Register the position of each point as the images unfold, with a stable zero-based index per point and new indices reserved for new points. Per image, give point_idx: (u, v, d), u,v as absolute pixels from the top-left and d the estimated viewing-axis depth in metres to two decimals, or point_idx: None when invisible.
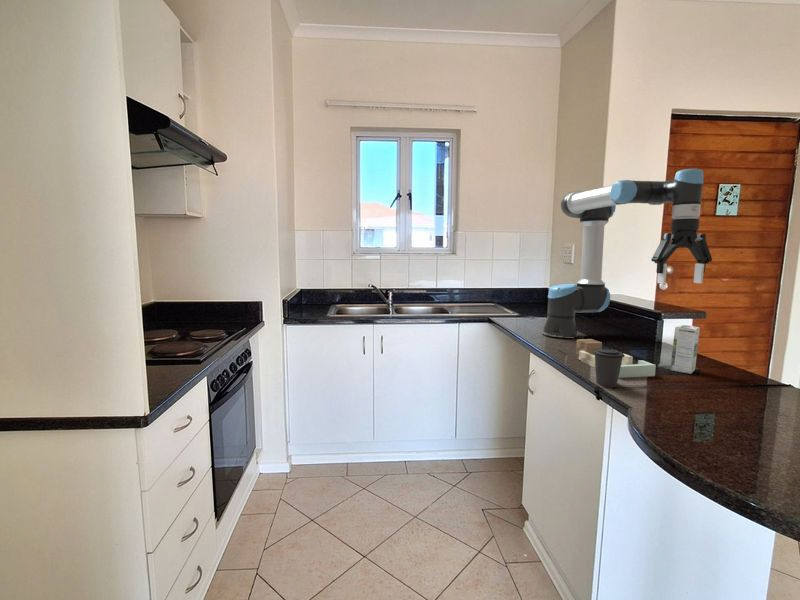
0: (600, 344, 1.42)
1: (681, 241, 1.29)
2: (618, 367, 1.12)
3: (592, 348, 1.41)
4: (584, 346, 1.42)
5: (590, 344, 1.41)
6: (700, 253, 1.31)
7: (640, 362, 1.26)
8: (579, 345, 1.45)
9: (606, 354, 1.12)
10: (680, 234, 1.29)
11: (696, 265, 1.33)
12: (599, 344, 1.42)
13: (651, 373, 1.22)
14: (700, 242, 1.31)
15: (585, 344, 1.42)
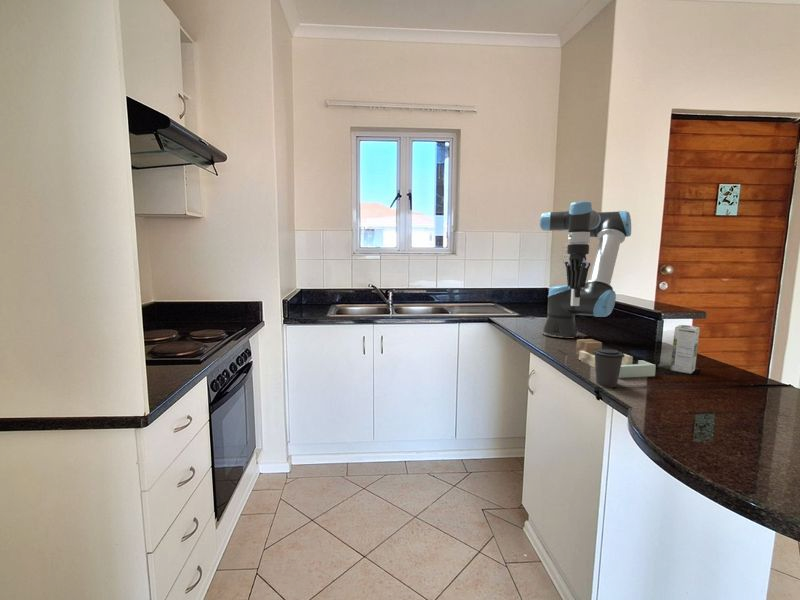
0: (600, 344, 1.42)
1: (571, 264, 1.52)
2: (618, 367, 1.12)
3: (592, 348, 1.41)
4: (584, 346, 1.42)
5: (590, 344, 1.41)
6: (575, 278, 1.50)
7: (640, 362, 1.26)
8: (579, 345, 1.45)
9: (606, 354, 1.12)
10: (570, 256, 1.53)
11: None
12: (599, 344, 1.42)
13: (651, 373, 1.22)
14: None
15: (585, 344, 1.42)
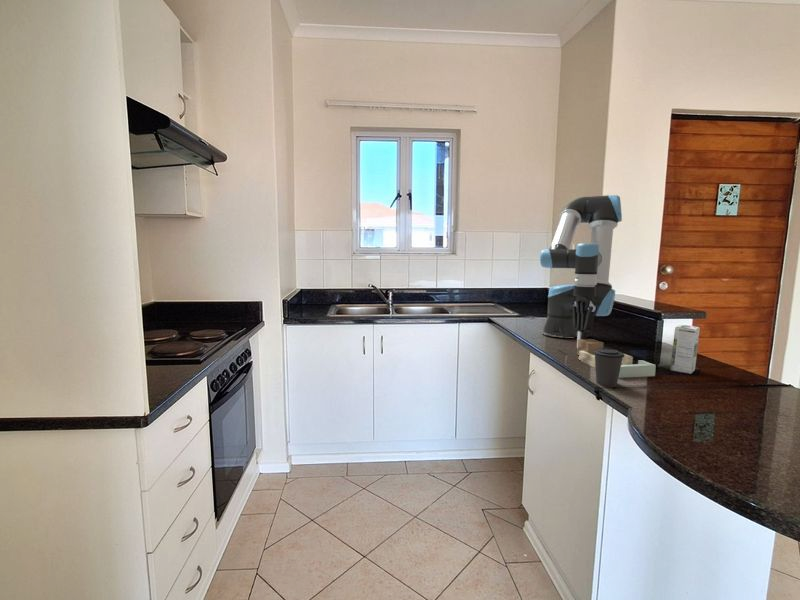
0: (601, 344, 1.41)
1: (577, 306, 1.48)
2: (618, 367, 1.12)
3: (593, 348, 1.41)
4: (585, 346, 1.41)
5: (591, 344, 1.40)
6: (582, 321, 1.46)
7: (640, 362, 1.26)
8: (580, 345, 1.44)
9: (606, 354, 1.12)
10: (577, 297, 1.49)
11: None
12: (600, 344, 1.41)
13: (651, 373, 1.22)
14: None
15: (586, 344, 1.41)
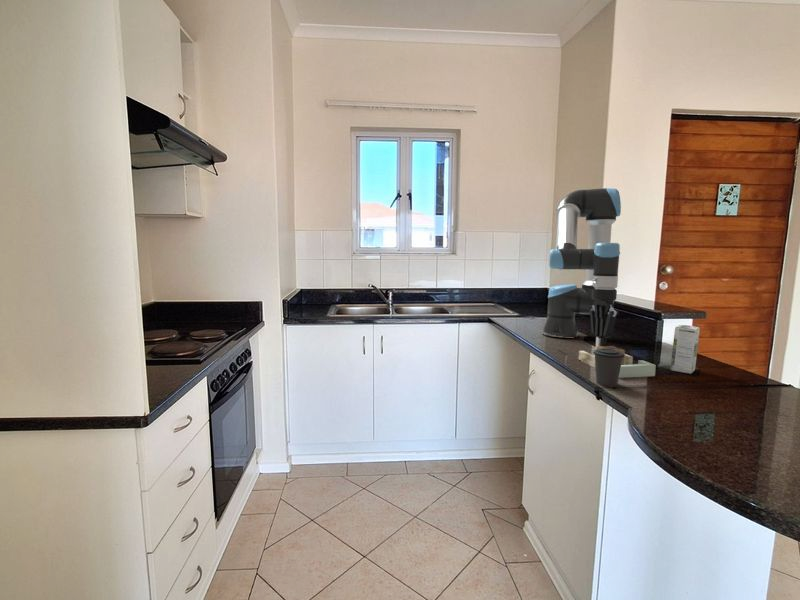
0: (623, 352, 1.30)
1: (595, 310, 1.37)
2: (618, 367, 1.12)
3: None
4: None
5: None
6: (601, 326, 1.35)
7: (640, 362, 1.26)
8: None
9: (606, 354, 1.12)
10: (595, 301, 1.38)
11: None
12: (622, 352, 1.30)
13: (651, 373, 1.22)
14: None
15: None
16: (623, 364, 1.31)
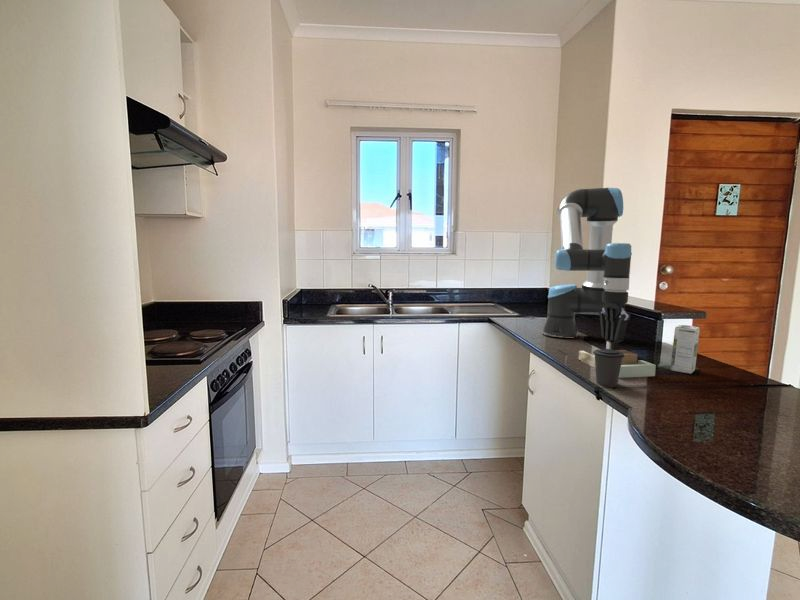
0: (635, 356, 1.25)
1: (606, 313, 1.32)
2: (618, 367, 1.12)
3: (626, 360, 1.25)
4: None
5: None
6: (612, 330, 1.30)
7: (640, 362, 1.26)
8: None
9: (606, 354, 1.12)
10: (605, 304, 1.33)
11: None
12: (634, 356, 1.25)
13: (651, 373, 1.22)
14: None
15: None
16: None
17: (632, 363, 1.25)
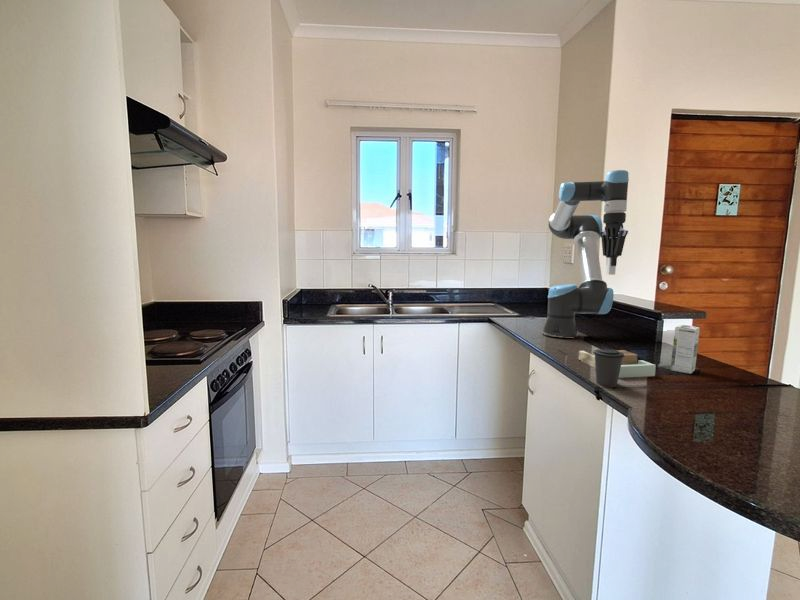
0: (635, 356, 1.25)
1: (607, 233, 1.54)
2: (618, 367, 1.12)
3: (626, 360, 1.25)
4: None
5: (623, 357, 1.24)
6: (612, 246, 1.52)
7: (640, 362, 1.26)
8: None
9: (606, 354, 1.12)
10: (606, 226, 1.55)
11: None
12: (634, 357, 1.25)
13: (651, 373, 1.22)
14: None
15: None
16: None
17: (632, 363, 1.25)
